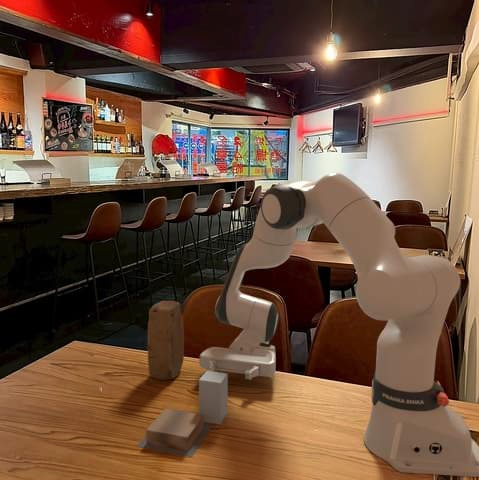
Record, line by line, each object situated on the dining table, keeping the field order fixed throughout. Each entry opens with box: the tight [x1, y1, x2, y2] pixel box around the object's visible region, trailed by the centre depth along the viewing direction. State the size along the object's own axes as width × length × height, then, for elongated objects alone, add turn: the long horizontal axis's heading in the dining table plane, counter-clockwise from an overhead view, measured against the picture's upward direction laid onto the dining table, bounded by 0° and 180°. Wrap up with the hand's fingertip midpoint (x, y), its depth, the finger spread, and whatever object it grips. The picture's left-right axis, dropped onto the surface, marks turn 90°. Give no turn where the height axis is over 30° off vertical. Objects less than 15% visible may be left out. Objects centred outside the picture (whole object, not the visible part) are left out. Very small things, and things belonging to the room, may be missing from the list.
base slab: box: [145, 408, 205, 451], centre depth 98 cm, size 9×9×3 cm
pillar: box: [198, 370, 229, 425], centre depth 106 cm, size 5×5×10 cm
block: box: [147, 300, 185, 381], centre depth 128 cm, size 11×8×20 cm
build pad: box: [136, 423, 213, 458], centre depth 99 cm, size 12×12×1 cm
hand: (229, 374), depth 117 cm, fingers open, 8 cm apart
